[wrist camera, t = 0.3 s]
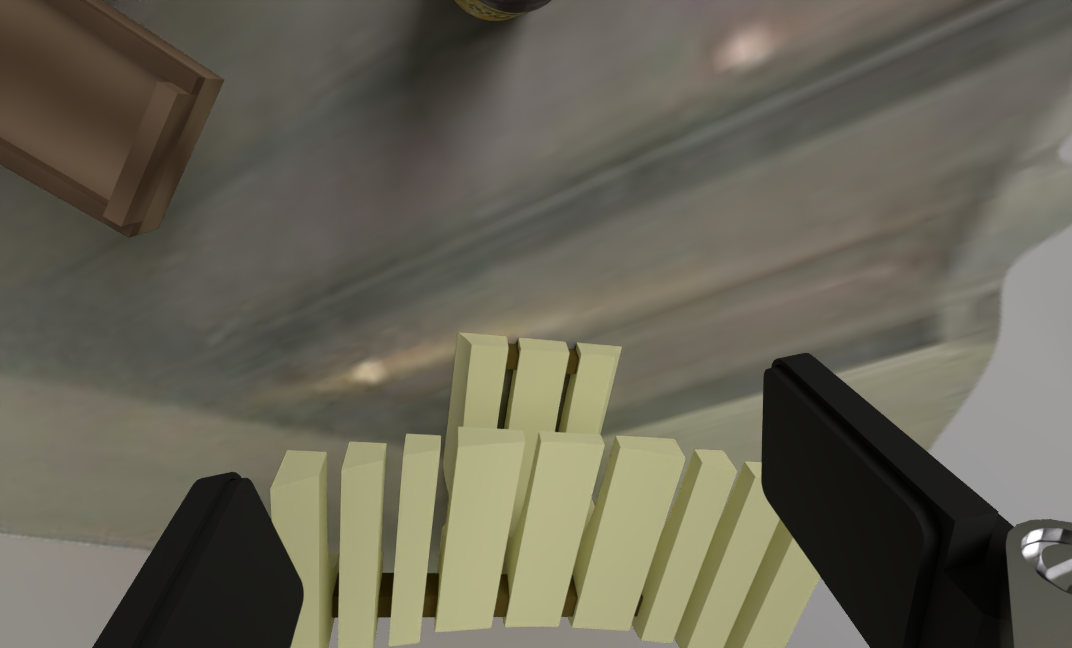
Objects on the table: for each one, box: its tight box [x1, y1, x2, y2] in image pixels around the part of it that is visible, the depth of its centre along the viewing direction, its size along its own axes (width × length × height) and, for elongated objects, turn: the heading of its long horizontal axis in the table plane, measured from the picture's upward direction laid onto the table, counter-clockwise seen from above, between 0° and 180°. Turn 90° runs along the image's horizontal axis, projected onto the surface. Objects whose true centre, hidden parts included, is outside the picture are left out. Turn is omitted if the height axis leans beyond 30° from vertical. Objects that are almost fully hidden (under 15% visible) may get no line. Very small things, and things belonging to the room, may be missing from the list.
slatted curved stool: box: [270, 333, 820, 648], centre depth 39 cm, size 30×16×18 cm, turn 81°
